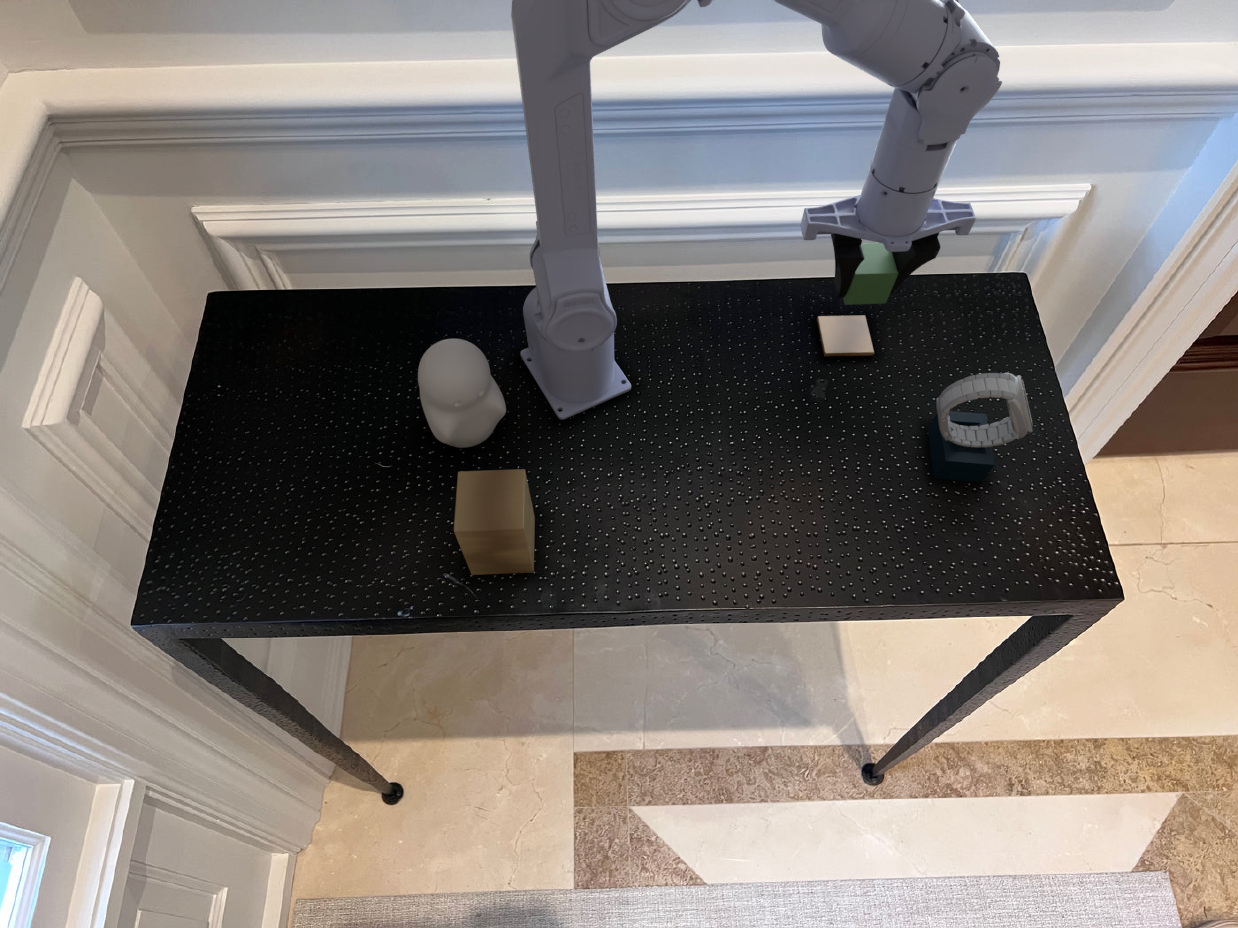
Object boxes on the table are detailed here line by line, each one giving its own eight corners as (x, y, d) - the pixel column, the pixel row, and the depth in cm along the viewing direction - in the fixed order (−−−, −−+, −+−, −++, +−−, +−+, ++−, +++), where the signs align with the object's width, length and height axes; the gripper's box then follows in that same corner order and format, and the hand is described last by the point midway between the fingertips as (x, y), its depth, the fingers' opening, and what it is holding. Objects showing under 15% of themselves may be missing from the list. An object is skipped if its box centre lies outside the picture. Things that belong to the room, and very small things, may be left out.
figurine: (451, 470, 73) (424, 394, 63) (417, 413, 77) (385, 332, 66) (518, 436, 75) (502, 357, 65) (482, 382, 79) (461, 298, 68)
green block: (844, 305, 75) (855, 274, 72) (836, 274, 77) (846, 243, 74) (886, 303, 75) (898, 273, 72) (877, 273, 77) (889, 242, 74)
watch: (1003, 484, 73) (1060, 416, 63) (914, 476, 73) (957, 407, 64) (994, 433, 75) (1047, 361, 66) (908, 426, 76) (949, 353, 66)
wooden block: (471, 575, 68) (453, 531, 61) (474, 519, 71) (457, 471, 64) (534, 572, 68) (523, 528, 61) (534, 517, 71) (525, 468, 64)
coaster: (824, 356, 80) (825, 353, 80) (816, 319, 83) (817, 316, 82) (873, 355, 80) (874, 352, 80) (863, 318, 83) (865, 315, 83)
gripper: (825, 206, 62) (793, 323, 73) (1009, 201, 62) (948, 317, 74) (810, 148, 65) (782, 268, 77) (983, 143, 66) (929, 263, 77)
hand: (862, 288), depth 76 cm, fingers closed on green block, 4 cm apart
